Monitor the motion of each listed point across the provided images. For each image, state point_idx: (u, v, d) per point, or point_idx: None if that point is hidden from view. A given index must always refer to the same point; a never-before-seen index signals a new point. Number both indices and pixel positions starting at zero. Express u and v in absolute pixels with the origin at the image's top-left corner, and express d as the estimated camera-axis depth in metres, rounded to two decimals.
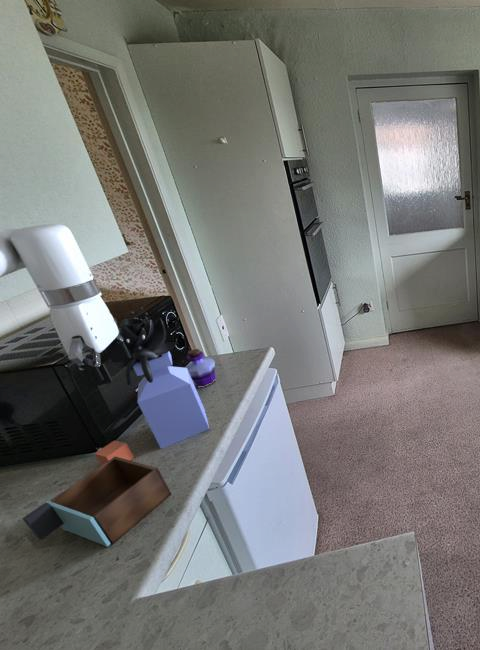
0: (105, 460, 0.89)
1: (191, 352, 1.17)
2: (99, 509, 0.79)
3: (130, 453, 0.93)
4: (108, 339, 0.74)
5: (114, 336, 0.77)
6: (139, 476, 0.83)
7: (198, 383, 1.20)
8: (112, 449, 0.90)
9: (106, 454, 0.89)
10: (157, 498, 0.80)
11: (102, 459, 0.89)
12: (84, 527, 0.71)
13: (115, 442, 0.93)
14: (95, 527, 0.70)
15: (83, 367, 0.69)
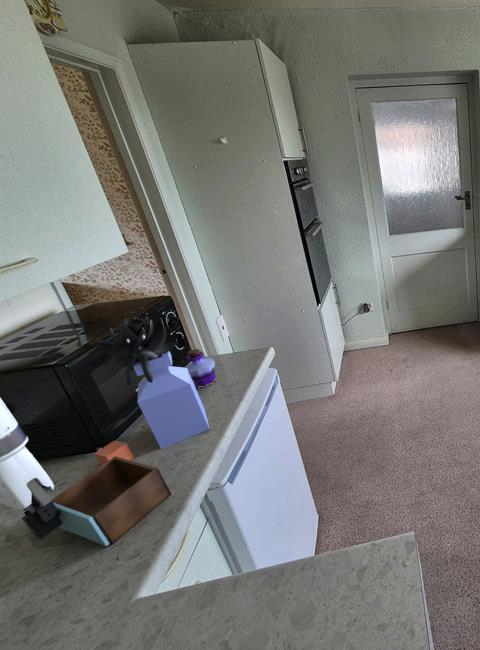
0: (105, 460, 0.89)
1: (191, 352, 1.17)
2: (99, 509, 0.79)
3: (130, 453, 0.93)
4: None
5: None
6: (139, 476, 0.83)
7: (198, 383, 1.20)
8: (112, 449, 0.90)
9: (106, 454, 0.89)
10: (157, 498, 0.80)
11: (102, 459, 0.89)
12: (83, 527, 0.71)
13: (115, 442, 0.93)
14: (94, 527, 0.70)
15: (39, 507, 0.68)
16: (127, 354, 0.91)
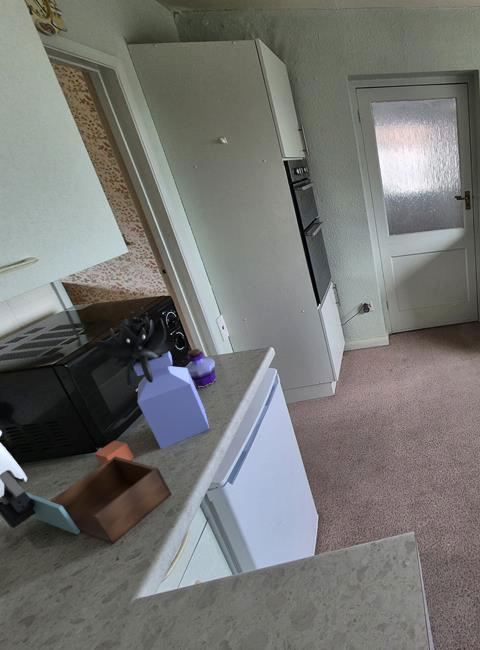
0: (105, 460, 0.89)
1: (191, 352, 1.17)
2: (99, 509, 0.79)
3: (130, 453, 0.93)
4: None
5: None
6: (139, 476, 0.83)
7: (198, 383, 1.20)
8: (112, 449, 0.90)
9: (106, 454, 0.89)
10: (157, 498, 0.80)
11: (102, 459, 0.89)
12: (54, 516, 0.74)
13: (115, 442, 0.93)
14: (64, 515, 0.72)
15: (13, 498, 0.71)
16: (127, 354, 0.91)
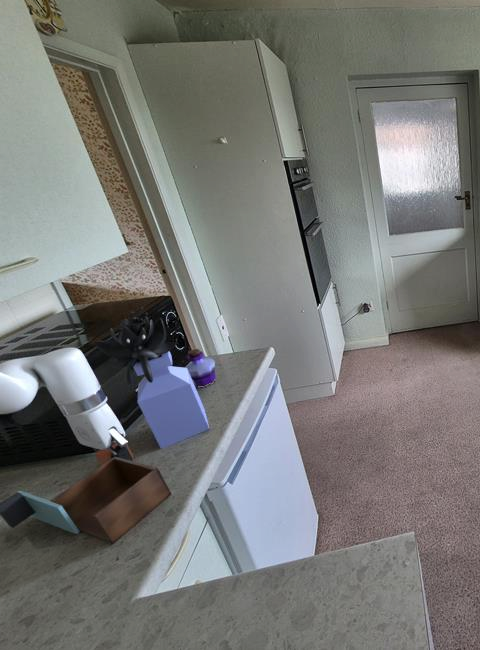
0: (105, 460, 0.89)
1: (191, 352, 1.17)
2: (99, 509, 0.79)
3: (130, 453, 0.93)
4: None
5: None
6: (139, 476, 0.83)
7: (198, 383, 1.20)
8: None
9: (106, 454, 0.89)
10: (157, 498, 0.80)
11: (102, 459, 0.89)
12: (54, 516, 0.74)
13: None
14: (64, 515, 0.73)
15: (120, 451, 0.89)
16: (127, 354, 0.91)
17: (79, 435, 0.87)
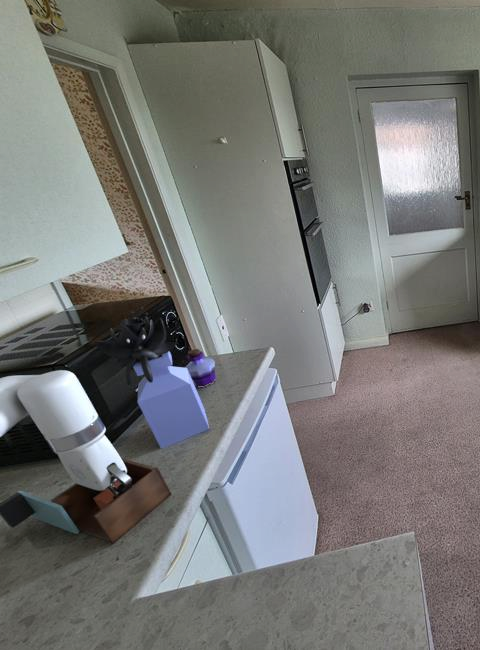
0: None
1: (191, 352, 1.17)
2: (99, 509, 0.79)
3: None
4: None
5: None
6: (139, 476, 0.83)
7: (198, 383, 1.20)
8: None
9: (107, 500, 0.76)
10: (157, 498, 0.80)
11: (103, 505, 0.76)
12: (54, 516, 0.74)
13: (118, 483, 0.80)
14: (64, 515, 0.73)
15: (124, 490, 0.75)
16: (127, 354, 0.91)
17: (72, 473, 0.73)
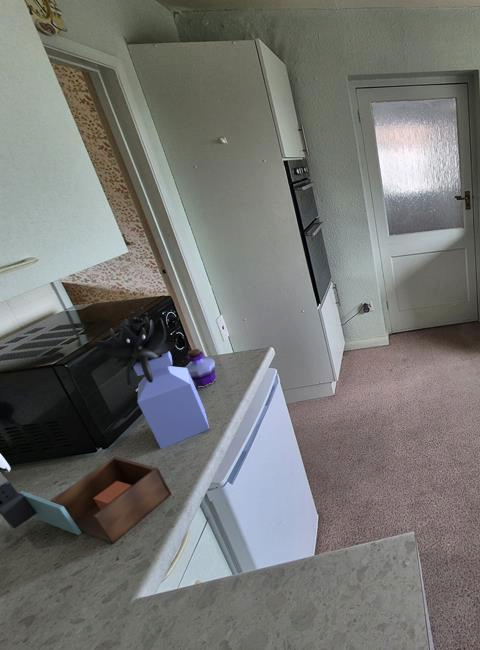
0: None
1: (191, 352, 1.17)
2: (99, 509, 0.79)
3: None
4: None
5: None
6: (139, 476, 0.83)
7: (198, 383, 1.20)
8: (115, 493, 0.77)
9: (107, 500, 0.76)
10: (157, 498, 0.80)
11: (103, 505, 0.76)
12: (56, 516, 0.74)
13: (118, 483, 0.80)
14: (66, 516, 0.72)
15: None
16: (127, 354, 0.91)
17: None
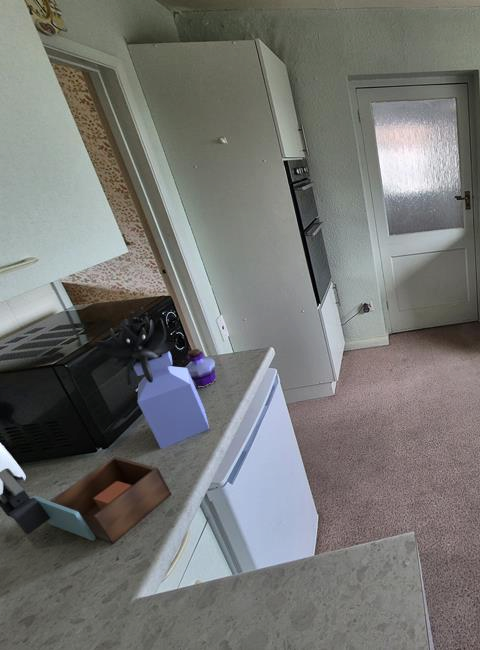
0: None
1: (191, 352, 1.17)
2: (99, 509, 0.79)
3: None
4: None
5: None
6: (139, 476, 0.83)
7: (198, 383, 1.20)
8: (115, 493, 0.77)
9: (107, 500, 0.76)
10: (157, 498, 0.80)
11: (103, 505, 0.76)
12: (70, 522, 0.73)
13: (118, 483, 0.80)
14: (80, 521, 0.71)
15: (12, 496, 0.71)
16: (127, 354, 0.91)
17: None
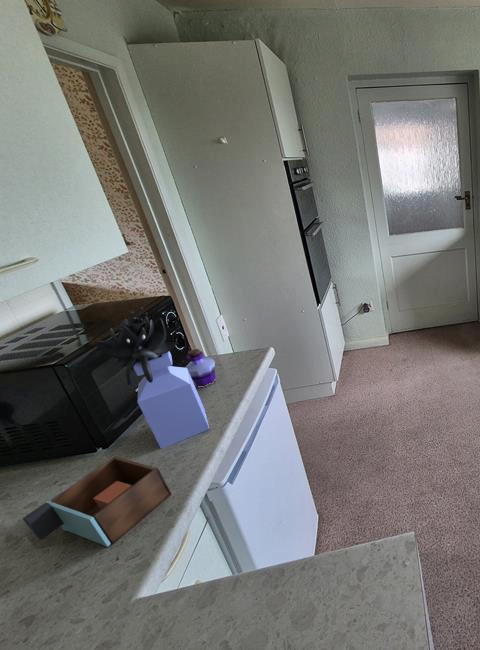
0: None
1: (191, 352, 1.17)
2: (99, 509, 0.79)
3: None
4: None
5: None
6: (139, 476, 0.83)
7: (198, 383, 1.20)
8: (115, 493, 0.77)
9: (107, 500, 0.76)
10: (157, 498, 0.80)
11: (103, 505, 0.76)
12: (84, 527, 0.71)
13: (118, 483, 0.80)
14: (95, 527, 0.70)
15: None
16: (127, 354, 0.91)
17: None
